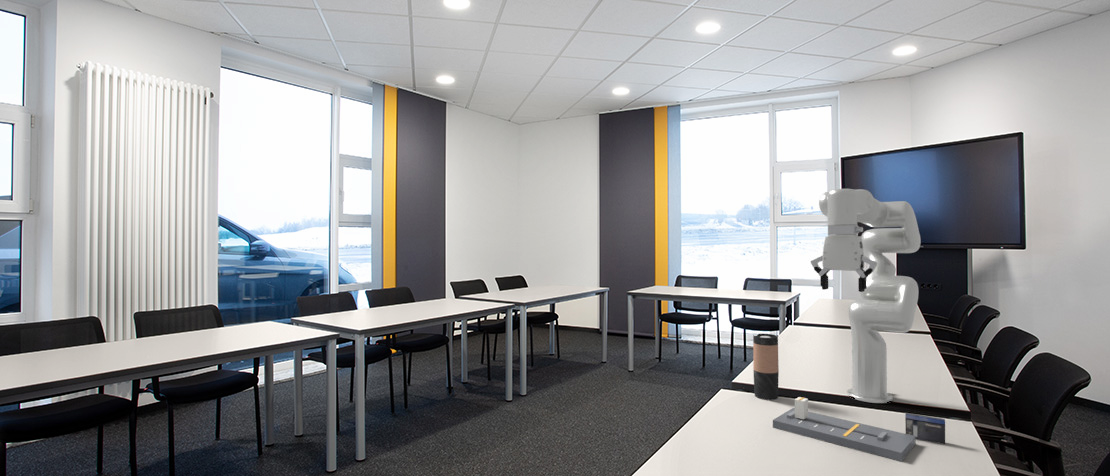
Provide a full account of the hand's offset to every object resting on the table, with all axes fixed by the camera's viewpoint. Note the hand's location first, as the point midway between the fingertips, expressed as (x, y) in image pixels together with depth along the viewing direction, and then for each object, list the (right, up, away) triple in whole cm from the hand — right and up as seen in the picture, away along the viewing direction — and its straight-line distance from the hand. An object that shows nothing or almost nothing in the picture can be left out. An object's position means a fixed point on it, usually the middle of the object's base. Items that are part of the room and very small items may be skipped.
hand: (843, 290), depth 148 cm
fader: (-15, -35, -7) cm, 38 cm away
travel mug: (-15, -37, +19) cm, 44 cm away
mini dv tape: (+11, -37, -17) cm, 42 cm away
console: (-8, -37, -14) cm, 40 cm away
